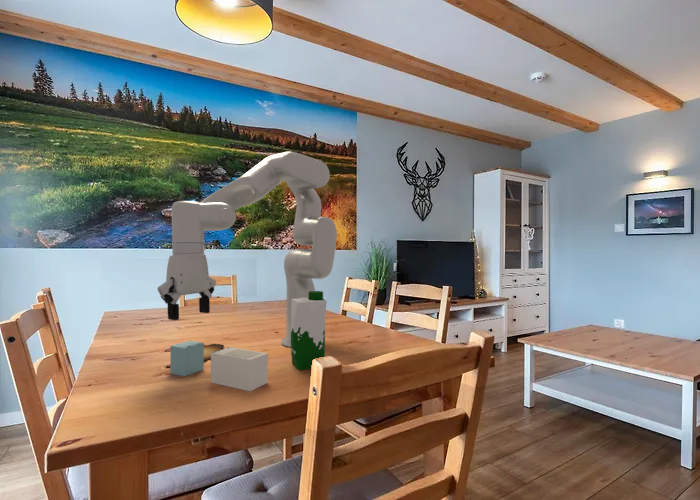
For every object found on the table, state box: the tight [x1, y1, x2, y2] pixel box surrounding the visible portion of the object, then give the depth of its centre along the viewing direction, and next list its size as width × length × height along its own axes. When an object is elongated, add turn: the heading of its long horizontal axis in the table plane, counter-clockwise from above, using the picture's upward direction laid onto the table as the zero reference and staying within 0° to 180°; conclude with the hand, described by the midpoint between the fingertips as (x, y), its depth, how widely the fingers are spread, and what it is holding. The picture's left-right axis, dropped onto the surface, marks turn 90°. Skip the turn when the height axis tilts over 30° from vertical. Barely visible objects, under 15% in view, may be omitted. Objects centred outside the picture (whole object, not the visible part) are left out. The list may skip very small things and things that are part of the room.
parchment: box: [166, 343, 225, 368], centre depth 111 cm, size 25×10×1 cm, turn 0°
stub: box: [169, 340, 205, 377], centre depth 97 cm, size 6×5×7 cm
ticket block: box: [210, 346, 269, 392], centre depth 89 cm, size 6×12×7 cm, turn 64°
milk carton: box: [290, 290, 327, 371], centre depth 103 cm, size 9×9×20 cm
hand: (189, 316), depth 97 cm, fingers open, 9 cm apart
